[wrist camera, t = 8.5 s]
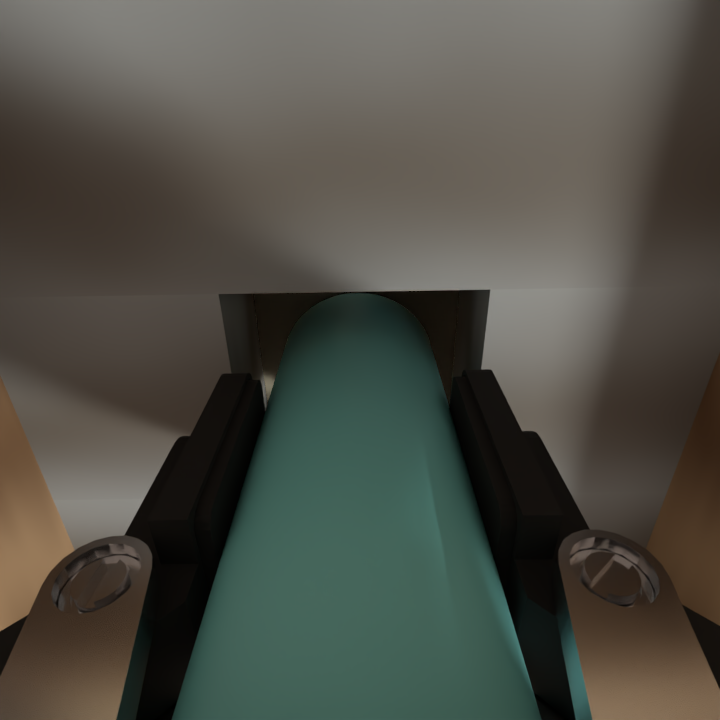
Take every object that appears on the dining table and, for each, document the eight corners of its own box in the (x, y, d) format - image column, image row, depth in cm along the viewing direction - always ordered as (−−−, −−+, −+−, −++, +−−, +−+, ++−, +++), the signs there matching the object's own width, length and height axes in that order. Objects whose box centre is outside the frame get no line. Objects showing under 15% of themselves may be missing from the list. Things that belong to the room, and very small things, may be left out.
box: (-99, -44, 10) (-649, -223, 4) (800, -64, 10) (1346, -271, 4) (123, 565, 18) (26, 755, 13) (601, 558, 18) (702, 748, 13)
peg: (277, 293, 12) (-301, 1645, 2) (436, 291, 12) (990, 1643, 1) (290, 424, 14) (77, 1428, 3) (428, 422, 14) (647, 1429, 3)
